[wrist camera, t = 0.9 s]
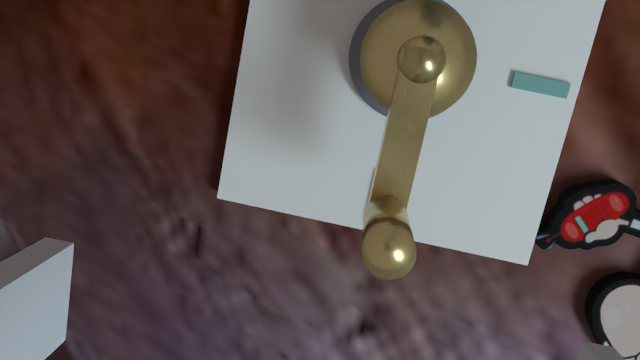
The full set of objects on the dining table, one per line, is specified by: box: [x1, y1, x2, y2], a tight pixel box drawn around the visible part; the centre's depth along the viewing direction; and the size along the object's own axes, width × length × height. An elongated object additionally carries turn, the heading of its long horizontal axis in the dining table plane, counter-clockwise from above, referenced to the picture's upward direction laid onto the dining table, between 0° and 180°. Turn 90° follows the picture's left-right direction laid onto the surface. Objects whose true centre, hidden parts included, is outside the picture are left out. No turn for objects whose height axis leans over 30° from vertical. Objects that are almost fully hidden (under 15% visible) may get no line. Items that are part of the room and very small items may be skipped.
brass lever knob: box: [360, 0, 477, 279], centre depth 30 cm, size 13×6×11 cm, turn 169°
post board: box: [217, 0, 605, 265], centre depth 38 cm, size 24×22×5 cm
